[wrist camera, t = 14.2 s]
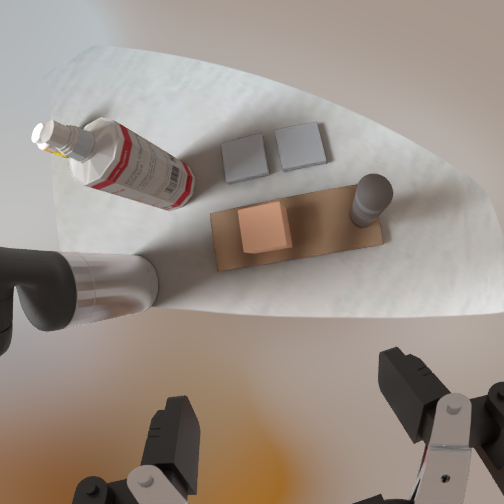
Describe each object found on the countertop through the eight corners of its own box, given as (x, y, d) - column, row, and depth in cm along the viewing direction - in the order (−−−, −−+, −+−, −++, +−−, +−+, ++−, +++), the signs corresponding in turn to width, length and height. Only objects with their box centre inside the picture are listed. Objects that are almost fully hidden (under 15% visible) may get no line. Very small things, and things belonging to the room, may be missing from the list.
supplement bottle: (62, 145, 54) (28, 131, 44) (78, 129, 53) (44, 113, 43) (66, 164, 53) (30, 152, 43) (83, 147, 52) (46, 132, 42)
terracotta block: (255, 253, 40) (243, 252, 35) (249, 216, 41) (237, 209, 36) (292, 247, 39) (286, 244, 34) (286, 208, 39) (279, 201, 34)
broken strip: (228, 184, 43) (226, 182, 42) (223, 146, 44) (220, 143, 42) (326, 163, 40) (326, 160, 38) (317, 125, 40) (316, 121, 39)
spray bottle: (192, 156, 45) (77, 80, 21) (198, 202, 44) (70, 149, 20) (150, 171, 47) (28, 116, 23) (154, 215, 46) (21, 181, 22)
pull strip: (220, 271, 43) (168, 274, 29) (213, 214, 43) (159, 194, 30) (381, 244, 37) (406, 234, 23) (369, 184, 38) (385, 145, 24)
